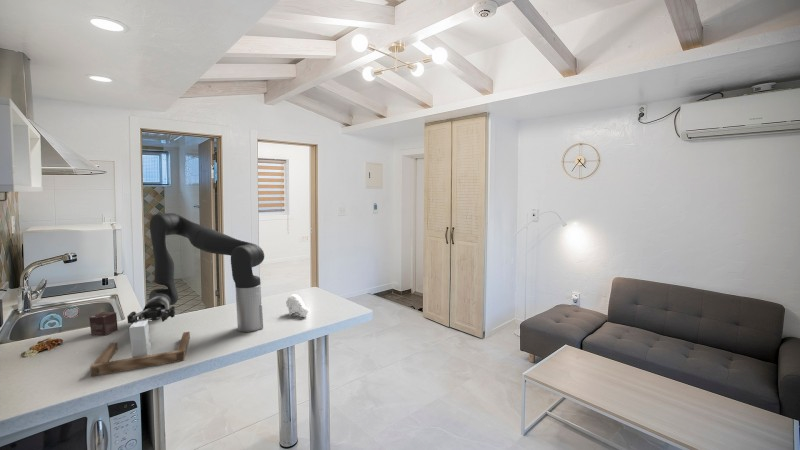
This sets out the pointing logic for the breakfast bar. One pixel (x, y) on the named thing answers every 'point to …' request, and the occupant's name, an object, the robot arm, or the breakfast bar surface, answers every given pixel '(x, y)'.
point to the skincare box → (140, 339)
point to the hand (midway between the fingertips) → (148, 320)
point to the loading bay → (137, 358)
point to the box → (103, 323)
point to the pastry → (42, 346)
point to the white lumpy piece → (296, 305)
